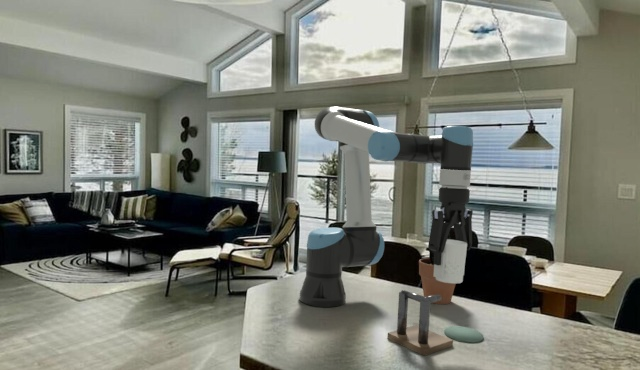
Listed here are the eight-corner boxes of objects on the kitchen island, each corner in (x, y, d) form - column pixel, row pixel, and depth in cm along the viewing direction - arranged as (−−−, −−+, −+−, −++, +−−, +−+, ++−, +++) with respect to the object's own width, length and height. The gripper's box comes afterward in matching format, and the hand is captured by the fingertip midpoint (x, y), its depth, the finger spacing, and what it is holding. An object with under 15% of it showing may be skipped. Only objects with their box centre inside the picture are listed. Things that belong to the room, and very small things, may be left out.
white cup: (466, 285, 108) (469, 245, 107) (433, 282, 110) (435, 242, 109) (463, 278, 116) (465, 240, 115) (432, 275, 117) (434, 238, 117)
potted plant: (408, 298, 150) (413, 226, 149) (431, 292, 159) (435, 223, 158) (444, 309, 140) (448, 231, 139) (466, 302, 149) (470, 229, 148)
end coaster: (436, 332, 119) (436, 330, 119) (458, 325, 125) (458, 323, 125) (468, 345, 111) (469, 343, 111) (490, 337, 117) (490, 335, 117)
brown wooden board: (387, 338, 113) (387, 332, 113) (415, 330, 120) (415, 325, 120) (424, 355, 104) (424, 349, 104) (452, 346, 110) (452, 340, 110)
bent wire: (394, 332, 113) (397, 289, 113) (412, 327, 118) (415, 286, 117) (423, 345, 106) (426, 299, 106) (441, 339, 110) (444, 295, 110)
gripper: (440, 187, 102) (435, 284, 103) (490, 188, 115) (485, 274, 116) (416, 185, 108) (410, 276, 109) (466, 186, 121) (460, 268, 122)
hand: (449, 275), depth 112 cm, fingers closed on white cup, 8 cm apart
